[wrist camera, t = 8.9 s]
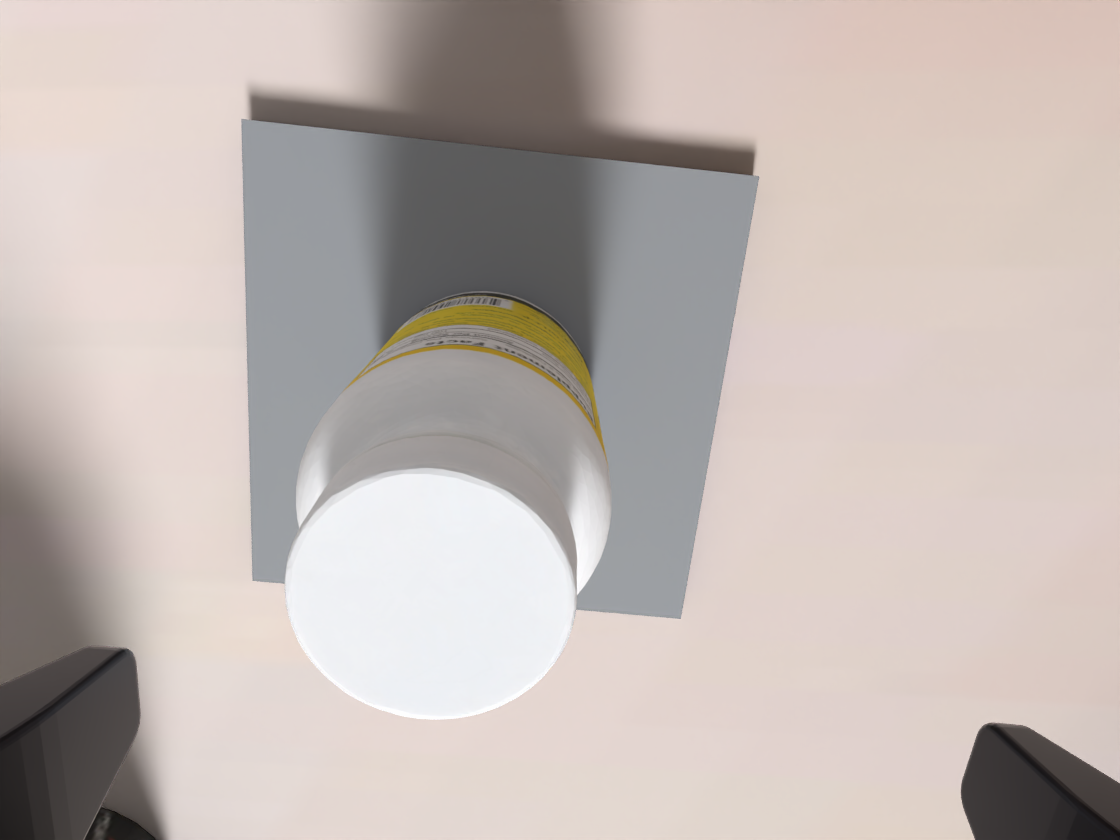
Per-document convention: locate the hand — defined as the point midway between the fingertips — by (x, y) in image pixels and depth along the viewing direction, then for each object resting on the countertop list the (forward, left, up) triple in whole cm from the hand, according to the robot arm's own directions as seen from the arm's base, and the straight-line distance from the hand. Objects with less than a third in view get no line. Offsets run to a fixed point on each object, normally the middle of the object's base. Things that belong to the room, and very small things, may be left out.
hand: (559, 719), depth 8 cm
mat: (0, +2, -13) cm, 13 cm away
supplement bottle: (0, +2, -12) cm, 12 cm away
